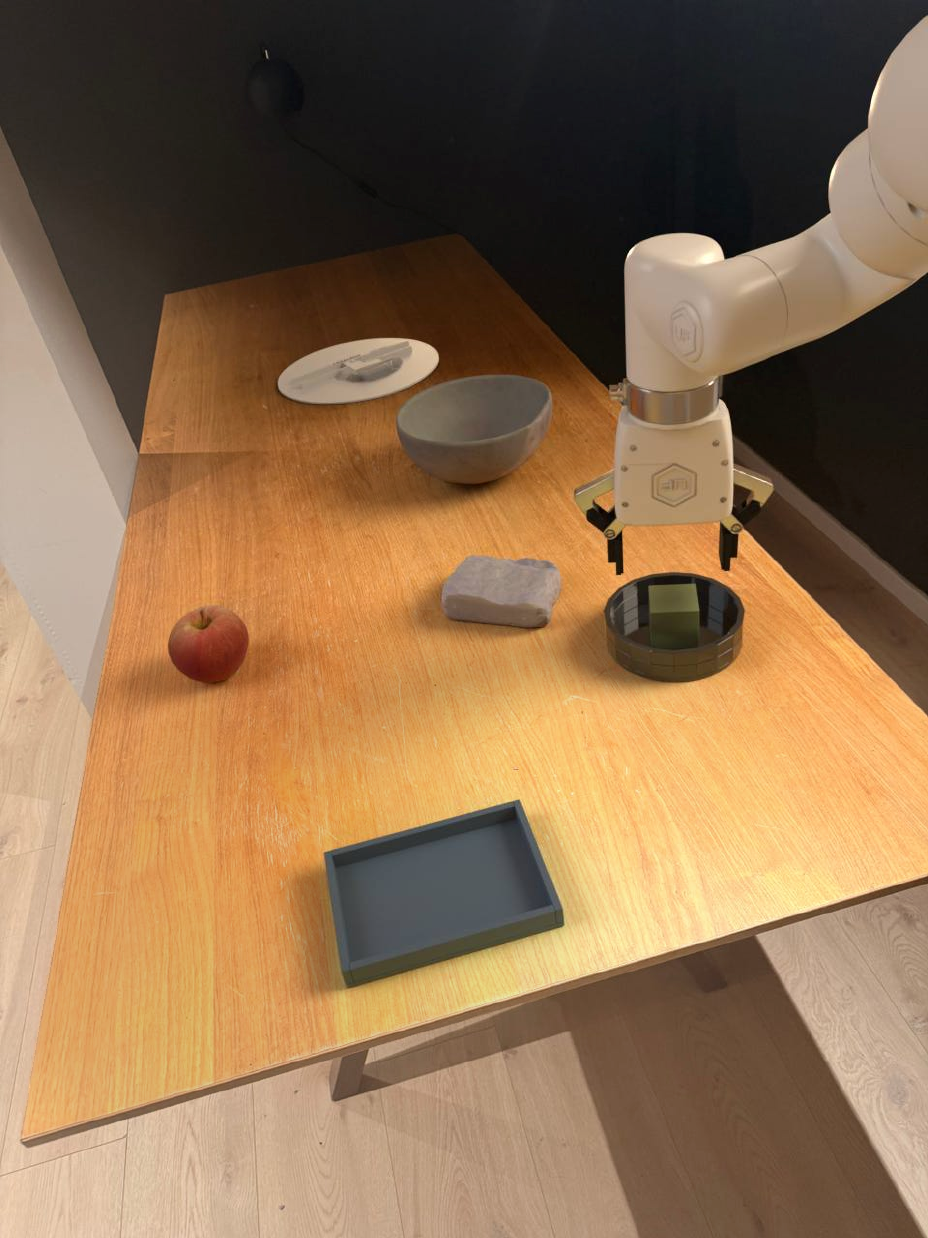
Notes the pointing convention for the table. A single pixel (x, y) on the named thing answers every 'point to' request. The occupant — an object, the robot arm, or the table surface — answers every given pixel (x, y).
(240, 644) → the apple
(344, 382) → the plate
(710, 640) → the pan
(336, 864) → the tray
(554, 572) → the stone block
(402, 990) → the table surface
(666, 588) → the block
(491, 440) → the bowl
